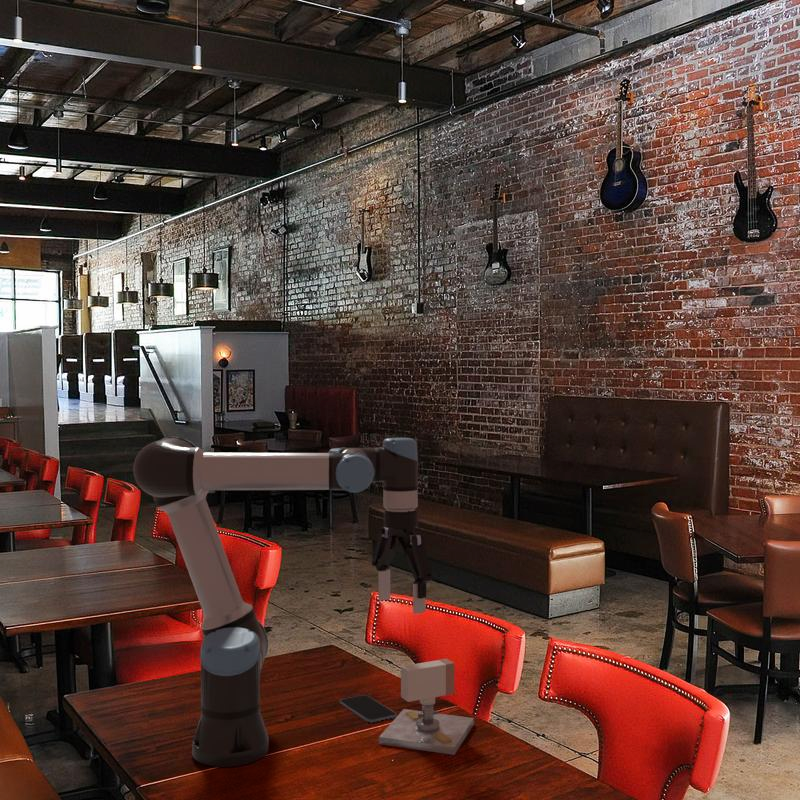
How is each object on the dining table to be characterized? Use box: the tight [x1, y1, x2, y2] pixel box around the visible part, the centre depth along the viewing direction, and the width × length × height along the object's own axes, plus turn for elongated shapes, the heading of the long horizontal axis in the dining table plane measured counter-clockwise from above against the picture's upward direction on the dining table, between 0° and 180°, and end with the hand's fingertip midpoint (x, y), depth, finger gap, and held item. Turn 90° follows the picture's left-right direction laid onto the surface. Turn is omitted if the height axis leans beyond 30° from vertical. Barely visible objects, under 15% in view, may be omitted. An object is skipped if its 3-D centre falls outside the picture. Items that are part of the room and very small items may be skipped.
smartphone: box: [339, 694, 397, 724], centre depth 200 cm, size 7×1×15 cm
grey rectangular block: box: [400, 658, 455, 706], centre depth 185 cm, size 11×3×8 cm, turn 116°
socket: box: [378, 704, 475, 756], centre depth 186 cm, size 16×16×6 cm
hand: (401, 606), depth 192 cm, fingers open, 13 cm apart
